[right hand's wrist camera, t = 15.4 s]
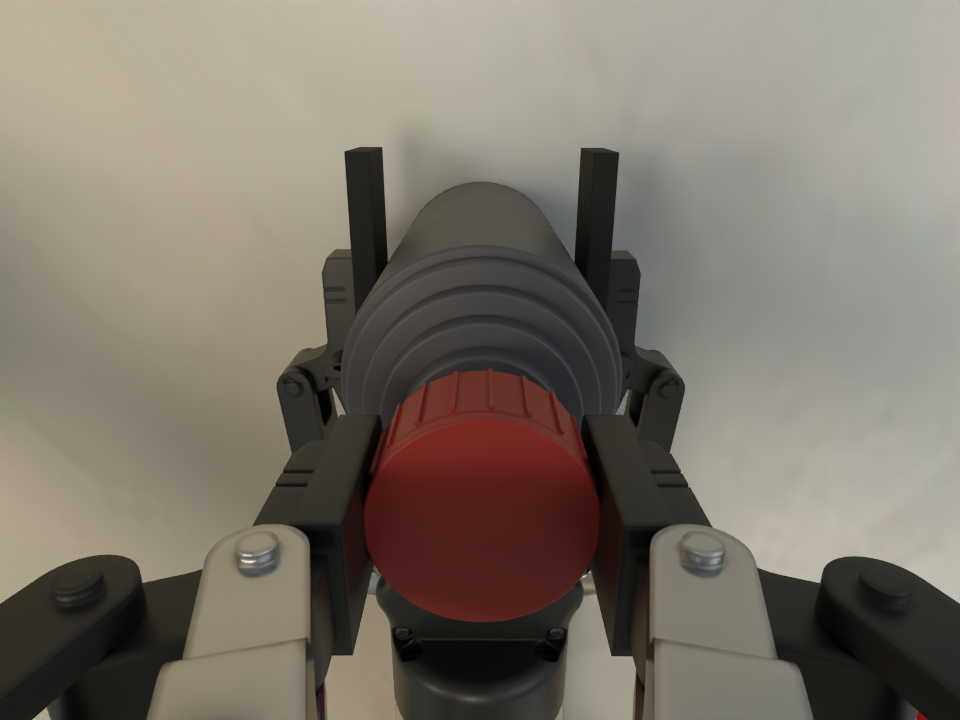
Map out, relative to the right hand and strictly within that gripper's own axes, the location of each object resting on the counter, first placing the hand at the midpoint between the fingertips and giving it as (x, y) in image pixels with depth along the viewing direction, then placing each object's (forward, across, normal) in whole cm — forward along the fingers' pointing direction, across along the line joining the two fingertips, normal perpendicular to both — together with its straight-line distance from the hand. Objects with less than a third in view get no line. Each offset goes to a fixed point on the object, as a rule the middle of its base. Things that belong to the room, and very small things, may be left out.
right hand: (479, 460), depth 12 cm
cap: (-2, 0, 0) cm, 2 cm away
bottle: (+18, 0, 0) cm, 18 cm away
